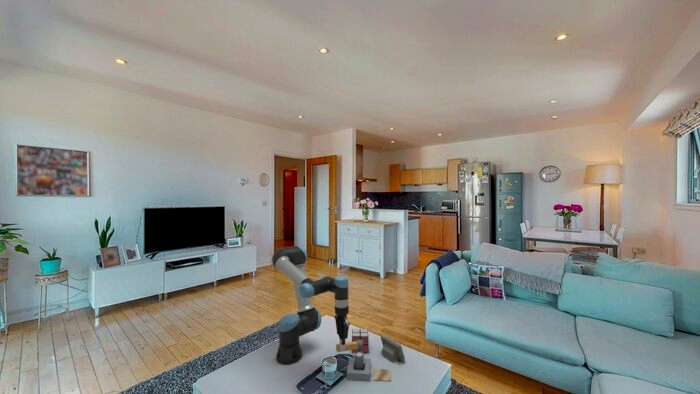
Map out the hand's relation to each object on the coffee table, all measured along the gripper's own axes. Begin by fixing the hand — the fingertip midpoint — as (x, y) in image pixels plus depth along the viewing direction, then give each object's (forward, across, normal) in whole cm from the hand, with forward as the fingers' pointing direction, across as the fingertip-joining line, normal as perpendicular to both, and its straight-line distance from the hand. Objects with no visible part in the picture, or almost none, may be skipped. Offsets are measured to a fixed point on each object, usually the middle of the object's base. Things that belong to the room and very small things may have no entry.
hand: (342, 349), depth 147 cm
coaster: (+12, -14, -16) cm, 24 cm away
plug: (+12, -6, -7) cm, 15 cm away
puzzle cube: (+12, +14, -21) cm, 28 cm away
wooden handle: (+1, +1, -5) cm, 5 cm away
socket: (+12, -6, -7) cm, 15 cm away
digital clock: (+12, -3, -32) cm, 34 cm away
